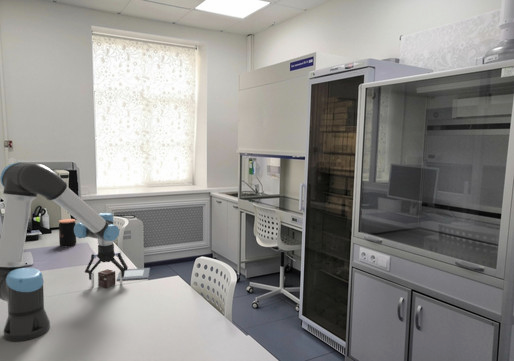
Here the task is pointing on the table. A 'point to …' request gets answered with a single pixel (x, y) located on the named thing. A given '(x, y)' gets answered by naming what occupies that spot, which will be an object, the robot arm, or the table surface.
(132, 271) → the mat
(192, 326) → the table surface
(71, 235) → the coffee jar
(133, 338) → the table surface
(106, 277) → the box
